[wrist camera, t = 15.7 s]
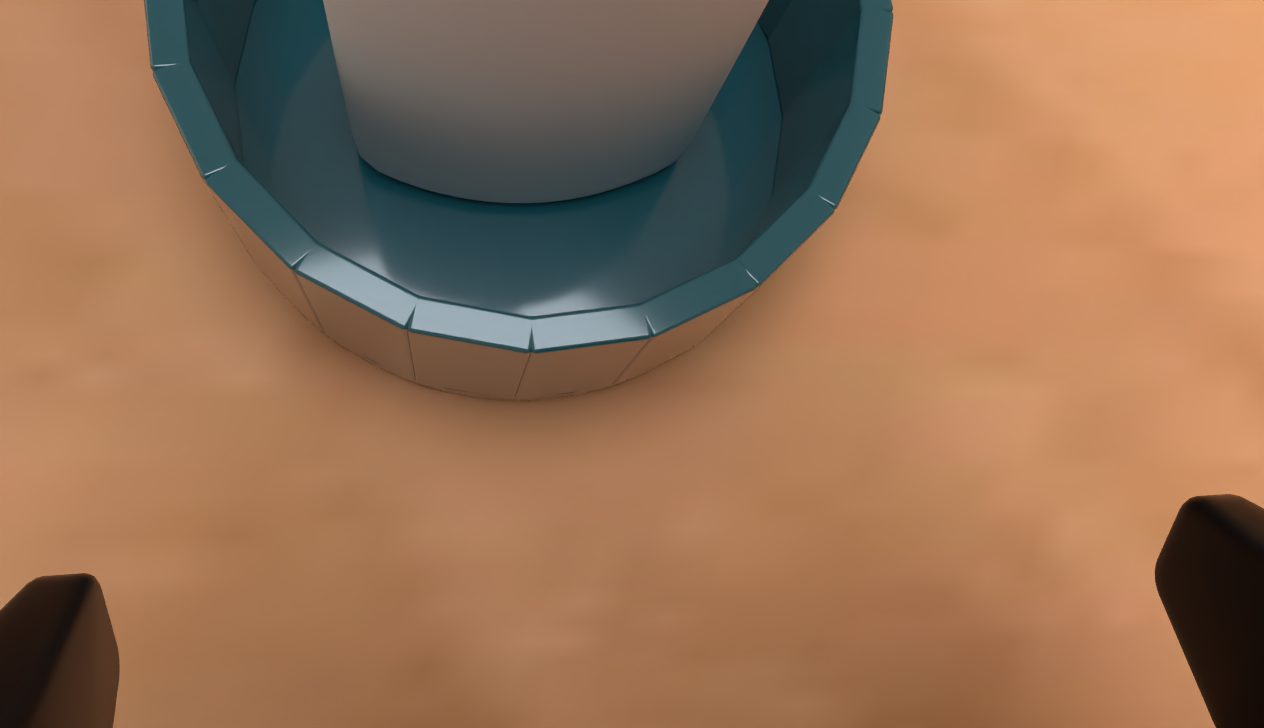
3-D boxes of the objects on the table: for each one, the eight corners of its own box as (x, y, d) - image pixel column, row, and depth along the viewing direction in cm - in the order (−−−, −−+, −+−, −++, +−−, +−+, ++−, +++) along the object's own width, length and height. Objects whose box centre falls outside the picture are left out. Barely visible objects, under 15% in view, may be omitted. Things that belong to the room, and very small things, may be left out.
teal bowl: (884, 22, 21) (996, -119, 17) (645, 508, 19) (703, 487, 15) (400, -247, 21) (386, -465, 17) (91, 218, 19) (-19, 107, 14)
